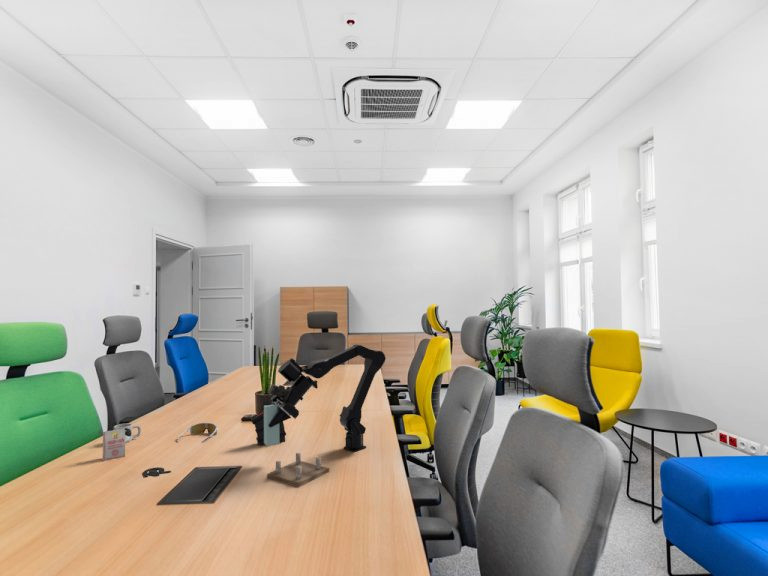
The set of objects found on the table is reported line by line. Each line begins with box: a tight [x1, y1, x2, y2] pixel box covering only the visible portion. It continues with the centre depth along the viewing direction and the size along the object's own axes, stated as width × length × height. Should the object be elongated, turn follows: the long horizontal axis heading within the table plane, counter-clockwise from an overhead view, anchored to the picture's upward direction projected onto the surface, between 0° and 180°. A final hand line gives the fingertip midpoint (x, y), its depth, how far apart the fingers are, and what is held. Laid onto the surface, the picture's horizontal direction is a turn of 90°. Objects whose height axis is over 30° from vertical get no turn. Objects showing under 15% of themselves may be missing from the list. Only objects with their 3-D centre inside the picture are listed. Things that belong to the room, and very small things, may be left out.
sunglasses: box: [177, 421, 219, 444], centre depth 181 cm, size 14×15×5 cm
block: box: [263, 404, 281, 447], centre depth 150 cm, size 4×4×13 cm
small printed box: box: [102, 428, 126, 461], centre depth 159 cm, size 4×7×10 cm, turn 128°
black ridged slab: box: [250, 409, 287, 446], centre depth 173 cm, size 4×13×15 cm, turn 114°
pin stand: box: [266, 452, 330, 488], centre depth 139 cm, size 14×14×5 cm
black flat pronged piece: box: [142, 466, 172, 478], centre depth 142 cm, size 9×8×1 cm
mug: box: [113, 423, 142, 444], centre depth 179 cm, size 10×7×7 cm
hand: (267, 425), depth 149 cm, fingers closed on block, 4 cm apart
